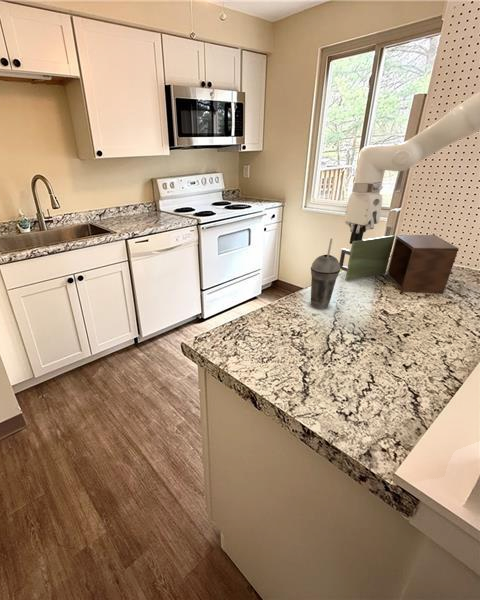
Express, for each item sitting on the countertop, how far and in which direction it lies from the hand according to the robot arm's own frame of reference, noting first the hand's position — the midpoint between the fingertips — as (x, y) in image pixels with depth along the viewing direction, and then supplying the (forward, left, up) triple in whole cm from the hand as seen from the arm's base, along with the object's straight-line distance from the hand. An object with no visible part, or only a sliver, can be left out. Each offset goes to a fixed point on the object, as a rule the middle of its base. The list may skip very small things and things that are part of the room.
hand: (355, 243), depth 107 cm
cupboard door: (-2, +3, -10) cm, 11 cm away
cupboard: (-16, +9, -11) cm, 21 cm away
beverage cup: (+13, +30, -11) cm, 34 cm away
